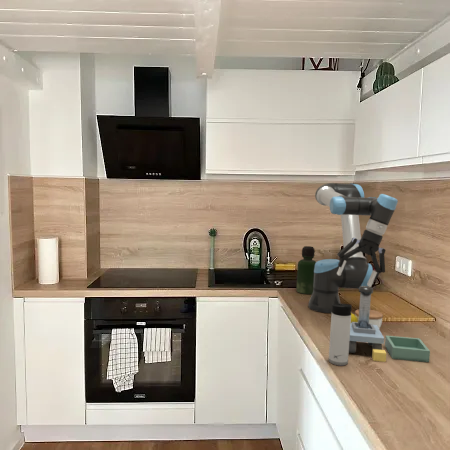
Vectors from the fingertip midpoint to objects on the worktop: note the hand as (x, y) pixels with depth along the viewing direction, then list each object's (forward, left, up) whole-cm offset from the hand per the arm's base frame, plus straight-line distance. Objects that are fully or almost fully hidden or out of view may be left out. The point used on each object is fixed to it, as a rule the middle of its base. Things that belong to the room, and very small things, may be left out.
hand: (353, 280), depth 174 cm
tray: (+23, +16, -20) cm, 35 cm away
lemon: (+5, -1, -20) cm, 21 cm away
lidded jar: (+2, +7, -20) cm, 22 cm away
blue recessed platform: (+22, +1, -20) cm, 30 cm away
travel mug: (+36, -8, -20) cm, 42 cm away
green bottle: (-55, -17, -20) cm, 61 cm away
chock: (+31, +6, -20) cm, 37 cm away
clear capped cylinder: (+22, +1, -13) cm, 25 cm away
